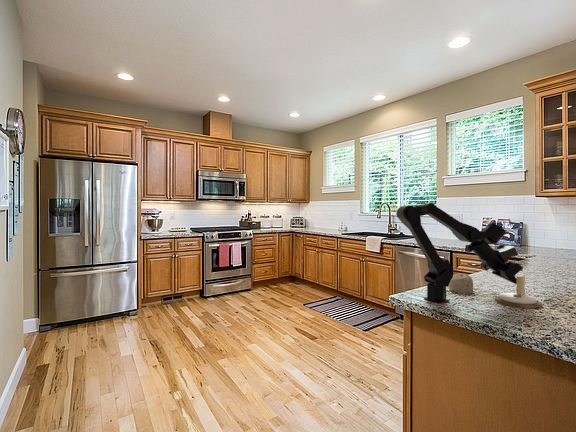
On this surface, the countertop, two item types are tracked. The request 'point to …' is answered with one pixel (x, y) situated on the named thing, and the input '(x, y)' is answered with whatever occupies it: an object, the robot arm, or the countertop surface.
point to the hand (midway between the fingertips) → (516, 282)
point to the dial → (519, 294)
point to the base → (527, 306)
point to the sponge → (461, 283)
